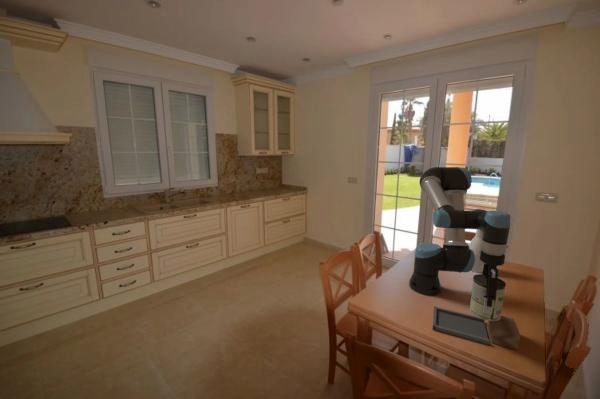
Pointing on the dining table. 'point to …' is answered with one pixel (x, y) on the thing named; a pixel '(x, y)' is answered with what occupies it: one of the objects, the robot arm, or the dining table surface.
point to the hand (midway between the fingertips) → (485, 305)
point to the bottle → (477, 251)
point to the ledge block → (504, 332)
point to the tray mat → (460, 325)
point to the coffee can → (478, 298)
